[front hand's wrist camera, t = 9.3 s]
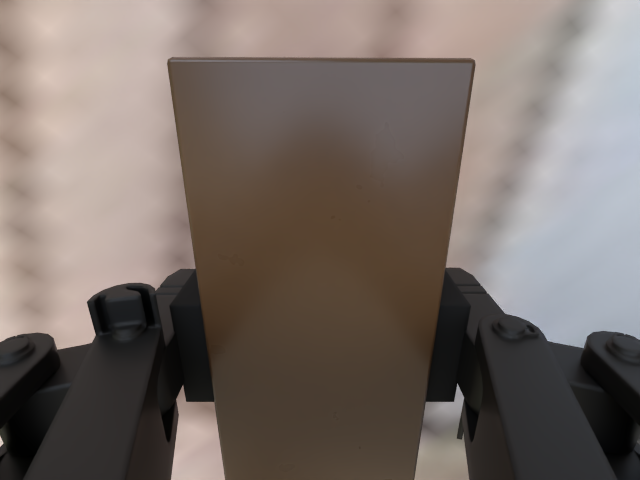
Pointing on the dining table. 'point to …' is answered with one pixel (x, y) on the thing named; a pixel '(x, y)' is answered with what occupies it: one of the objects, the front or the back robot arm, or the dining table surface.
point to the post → (320, 251)
